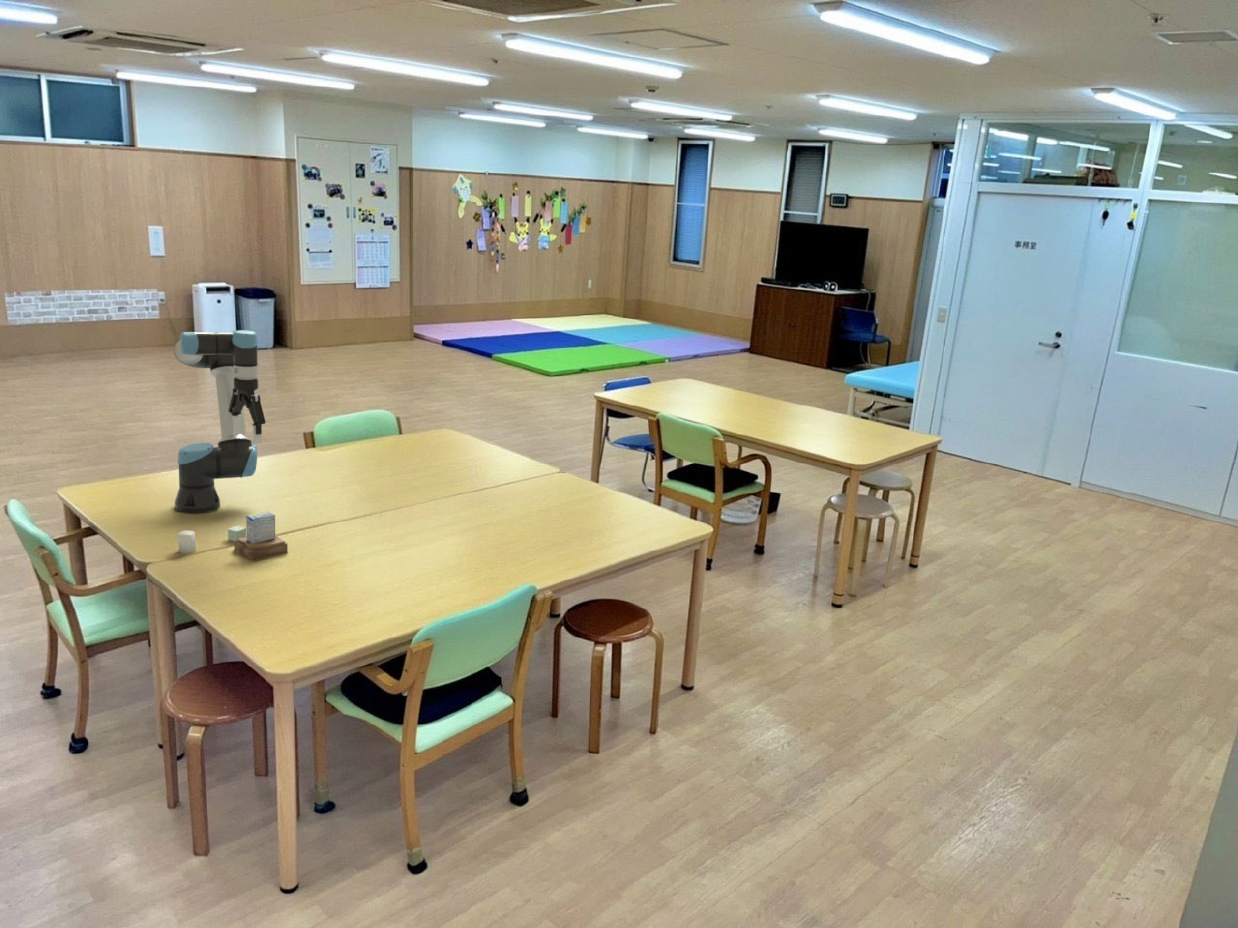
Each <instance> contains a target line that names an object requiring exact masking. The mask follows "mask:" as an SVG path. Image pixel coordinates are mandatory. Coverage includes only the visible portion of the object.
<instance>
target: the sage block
mask: <svg viewBox="0 0 1238 928" xmlns="http://www.w3.org/2000/svg"><path fill="white" fill-rule="evenodd" d="M246 536H247V527H243V526H241V525H235V526H232V527H229V528H227V539H228V541H231V542H234V543H235V540H237V538H242V537H246Z"/></svg>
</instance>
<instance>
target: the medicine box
mask: <svg viewBox="0 0 1238 928" xmlns="http://www.w3.org/2000/svg"><path fill="white" fill-rule="evenodd" d="M245 518H246V521H245V522H246V523H245V524H246V527H245V528H246V536H247V540H248V541H249V542H251V543H253V544H255V543H259V542H263V541H267V540H271V539H275V536H276V515H275V514H273V513H272V512H271V511H264V512H258V513H255V514H250V515H246V517H245Z"/></svg>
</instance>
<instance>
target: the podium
mask: <svg viewBox="0 0 1238 928" xmlns="http://www.w3.org/2000/svg"><path fill="white" fill-rule="evenodd" d="M234 550H235V551H236V552H238V553H240V554H241V555H243V557H247V559H249V560H251V561H253V562H255V561H259V560H262V559H266V558H270V557H271V558H272V557H275V556H280V555H283V554H286V553H287V554H288V552H289V550H288V543H287V542H286V540H283V539H282V538H280V537H278V536H276V535H275V539H271V540H267V541H263V542H259V543H255V544H253V543H251V542H249V541H248V540H247V535H246V537H242V538H237V540H235V542H234Z"/></svg>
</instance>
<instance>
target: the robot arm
mask: <svg viewBox="0 0 1238 928" xmlns="http://www.w3.org/2000/svg"><path fill="white" fill-rule="evenodd" d="M179 335H180V336H179V341H177V342H176V343H175V344H174V345H175V346H174V349H173V353H174V356H175V358H176V360H177V361H178V362H180V363H182V364H183V365H185V366H188V367H191V368H196V369H197V368H198V369H210V370H209V371H210V374H211V375H212V376H213V377H214V378H215V386H216V387H215V388H216V396H217V404H218V405H217V406H218V414H219V415H218V417H219V425H220V435H221V438H220V440H218V442H217V447H214V446H213V445H214V444H213V443H210V442H195V443H192V444H191V443H190V444H187V445H185V446H182V447H181V448H180V449H179V450H178V453H177V454H178V455H177V464H178V490H177V493H176V497H175V500H174V509H175V510H176V511H178V512H179V513H185V514H205V513H209V512H213V511H216V510H218V509H219V508H220V507H221V499H220V497H219V495H218V492H217V490H216V487H215V480H217V479H235V478H241V479H242V478H247V477H252V476H254V475H255V473H256V470H257V465H258V448H257V445H258V444H262V443H263V439H262V438H263V436H262V435H263V434H262V433H263V432H262V430H263V429H262V425H266V422H267V421H266V418H265V415H264V410H263V406H262V402H261V396H260V394H255V391H257V390H258V388H259V379H258V377H259V364H258V345H259V341H258V335H257V332H255V331H252V330H246V329H244V330H241V329H240V330H233V331H231V332H229V331H228V332H227V331H226V332H225V331H224V332H223V331H222V332H221V331H217V332H210V331H209V332H207V331H206V332H205V331H204V332H203V331H198V332H197V331H189V332H188V331H183V332H181V333H180V334H179ZM244 407H245V408H246V409H248V412H249V414H250V417H251V419H252V422H253V423H252V439H251V438H250V437H248V436H247V429H246V419H245V409H244ZM252 443H253V444H252Z"/></svg>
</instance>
